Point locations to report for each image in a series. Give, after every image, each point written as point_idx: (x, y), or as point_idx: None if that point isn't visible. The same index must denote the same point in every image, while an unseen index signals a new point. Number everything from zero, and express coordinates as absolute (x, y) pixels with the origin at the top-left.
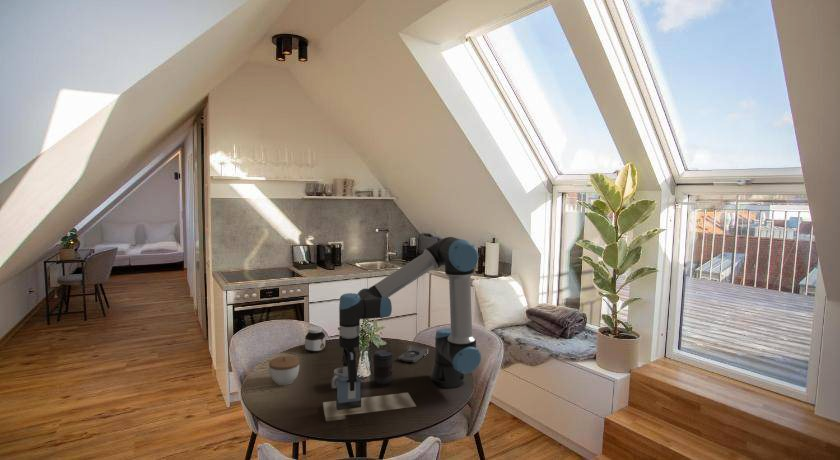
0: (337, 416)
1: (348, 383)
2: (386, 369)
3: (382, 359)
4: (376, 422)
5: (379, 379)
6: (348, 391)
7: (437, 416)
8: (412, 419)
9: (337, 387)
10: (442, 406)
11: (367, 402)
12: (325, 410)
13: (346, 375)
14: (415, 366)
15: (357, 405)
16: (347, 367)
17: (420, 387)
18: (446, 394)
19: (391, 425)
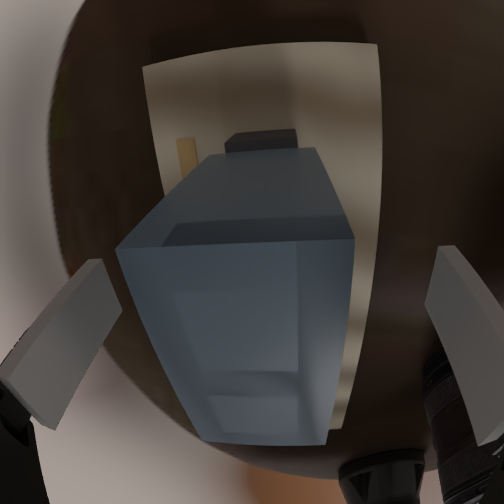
0: (154, 137)
1: (7, 361)
2: (438, 452)
3: (456, 491)
4: None
5: (445, 395)
6: (52, 303)
7: (193, 434)
8: (174, 398)
9: (301, 177)
10: (247, 451)
11: None
12: (241, 52)
13: (461, 331)
14: None
15: None
16: (493, 420)
17: (380, 437)
18: (311, 462)
19: (130, 346)
